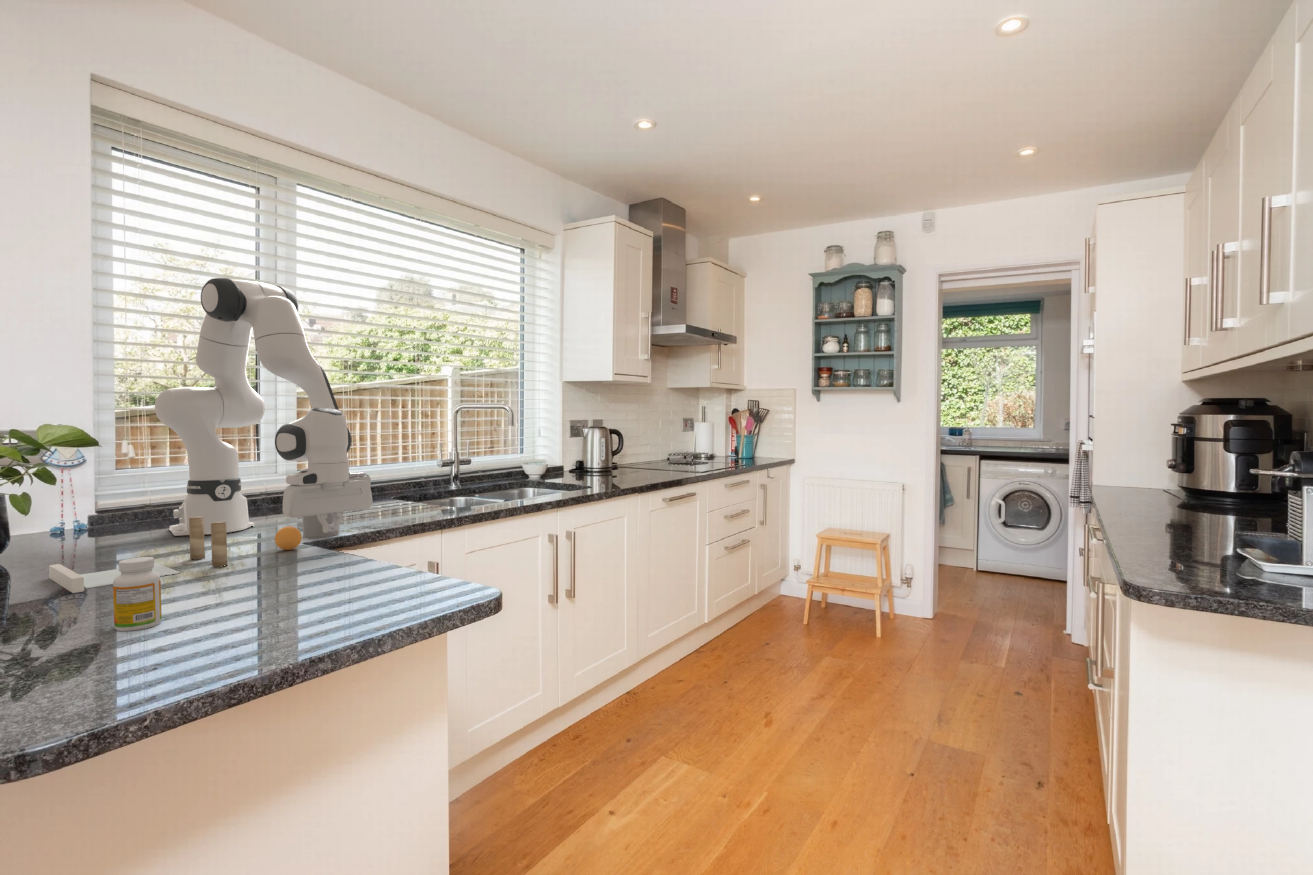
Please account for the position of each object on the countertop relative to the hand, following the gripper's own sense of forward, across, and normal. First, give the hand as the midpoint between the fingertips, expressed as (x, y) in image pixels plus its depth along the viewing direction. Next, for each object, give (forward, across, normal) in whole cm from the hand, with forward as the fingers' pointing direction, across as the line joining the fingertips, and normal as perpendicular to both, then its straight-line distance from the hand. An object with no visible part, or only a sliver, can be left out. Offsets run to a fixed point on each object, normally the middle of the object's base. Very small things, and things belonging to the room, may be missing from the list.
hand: (330, 531), depth 156 cm
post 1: (+3, +26, -7) cm, 26 cm away
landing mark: (+3, +40, 0) cm, 40 cm away
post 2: (+3, +26, +6) cm, 26 cm away
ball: (0, +10, 0) cm, 10 cm away
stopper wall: (+3, +48, 0) cm, 48 cm away
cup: (+3, -4, -14) cm, 15 cm away
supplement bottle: (+4, +47, +41) cm, 63 cm away
